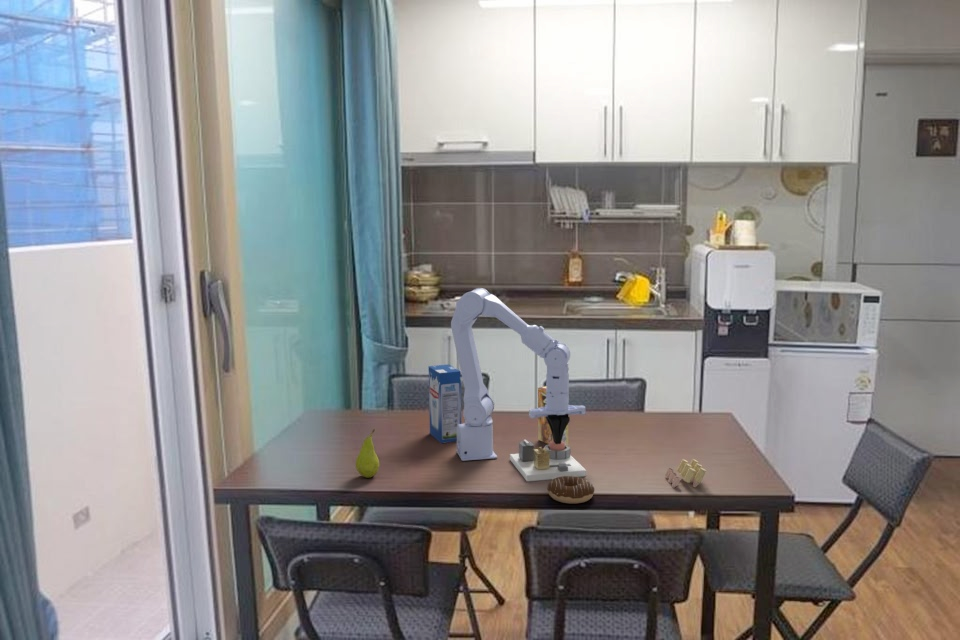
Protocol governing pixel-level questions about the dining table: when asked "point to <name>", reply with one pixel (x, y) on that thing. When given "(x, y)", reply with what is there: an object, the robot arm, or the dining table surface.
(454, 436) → the milk carton
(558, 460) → the panel
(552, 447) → the red button
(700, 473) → the ammunition
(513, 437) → the dining table surface
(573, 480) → the donut
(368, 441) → the fruit
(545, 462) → the brass slider
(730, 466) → the dining table surface
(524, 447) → the gray slider
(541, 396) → the candy box
